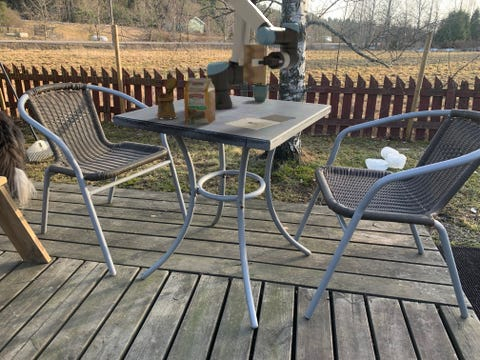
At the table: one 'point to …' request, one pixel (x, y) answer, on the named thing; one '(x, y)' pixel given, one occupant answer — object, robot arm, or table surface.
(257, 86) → the flower pot
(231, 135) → the table surface
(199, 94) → the milk carton
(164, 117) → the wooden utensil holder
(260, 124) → the beige square pad
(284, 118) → the mat
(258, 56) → the walnut block
